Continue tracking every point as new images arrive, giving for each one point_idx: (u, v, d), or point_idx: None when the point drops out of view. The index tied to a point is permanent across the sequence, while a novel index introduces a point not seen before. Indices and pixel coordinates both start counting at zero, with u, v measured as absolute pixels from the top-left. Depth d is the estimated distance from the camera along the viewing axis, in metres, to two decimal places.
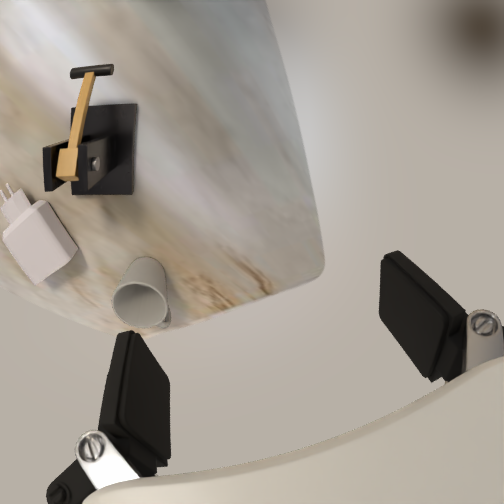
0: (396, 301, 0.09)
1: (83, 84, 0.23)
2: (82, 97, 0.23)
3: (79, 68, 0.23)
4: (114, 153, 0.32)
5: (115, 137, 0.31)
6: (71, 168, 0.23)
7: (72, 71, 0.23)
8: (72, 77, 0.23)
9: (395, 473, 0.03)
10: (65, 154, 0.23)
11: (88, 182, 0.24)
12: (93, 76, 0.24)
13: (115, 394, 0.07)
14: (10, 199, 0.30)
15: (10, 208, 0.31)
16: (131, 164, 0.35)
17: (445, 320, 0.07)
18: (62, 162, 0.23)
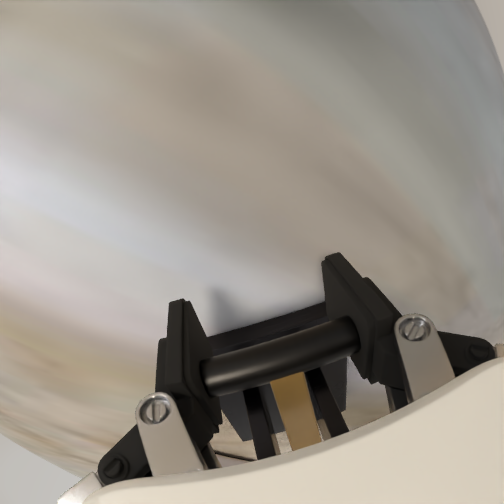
0: (335, 302, 0.10)
1: (289, 418, 0.09)
2: (306, 446, 0.09)
3: (236, 373, 0.08)
4: None
5: (325, 382, 0.16)
6: None
7: (213, 389, 0.08)
8: None
9: (395, 473, 0.03)
10: None
11: None
12: None
13: (178, 354, 0.08)
14: None
15: None
16: None
17: (371, 322, 0.08)
18: None
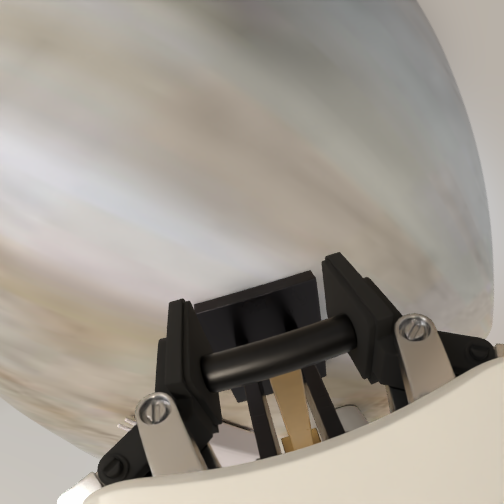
0: (335, 302, 0.10)
1: (283, 399, 0.10)
2: (295, 415, 0.11)
3: (238, 377, 0.09)
4: None
5: None
6: None
7: (216, 390, 0.09)
8: None
9: (395, 473, 0.03)
10: None
11: None
12: None
13: (178, 354, 0.08)
14: None
15: None
16: None
17: (371, 322, 0.08)
18: None
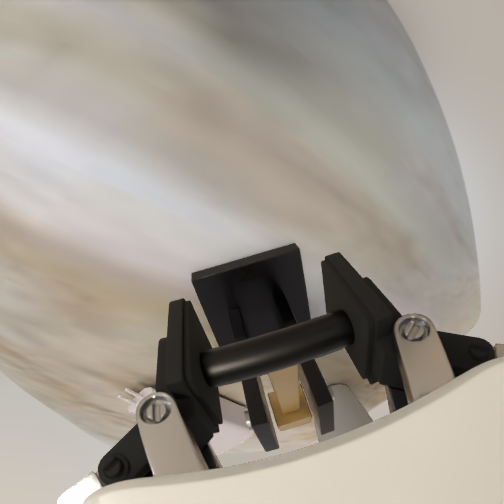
0: (335, 302, 0.10)
1: (278, 382, 0.11)
2: (287, 390, 0.12)
3: (239, 376, 0.09)
4: None
5: (289, 306, 0.24)
6: (304, 422, 0.17)
7: (217, 386, 0.09)
8: None
9: (395, 473, 0.03)
10: (289, 424, 0.16)
11: None
12: None
13: (178, 354, 0.08)
14: None
15: None
16: None
17: (371, 323, 0.08)
18: (287, 427, 0.17)
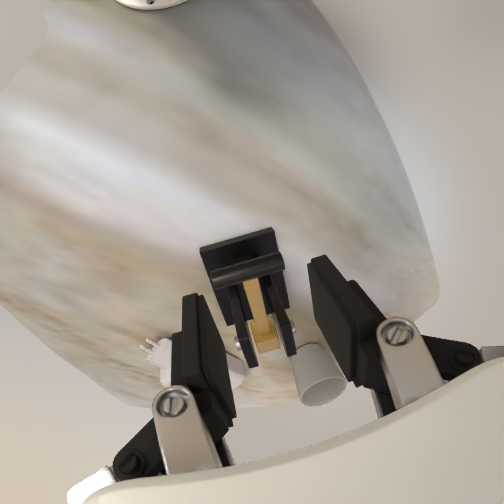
0: (321, 304, 0.10)
1: (249, 293, 0.22)
2: (256, 303, 0.23)
3: (228, 281, 0.20)
4: None
5: None
6: (275, 346, 0.29)
7: (218, 288, 0.20)
8: None
9: (395, 473, 0.03)
10: (264, 344, 0.27)
11: None
12: (257, 278, 0.21)
13: (195, 347, 0.08)
14: (160, 352, 0.37)
15: (162, 359, 0.38)
16: (284, 284, 0.39)
17: (353, 326, 0.08)
18: (263, 347, 0.28)
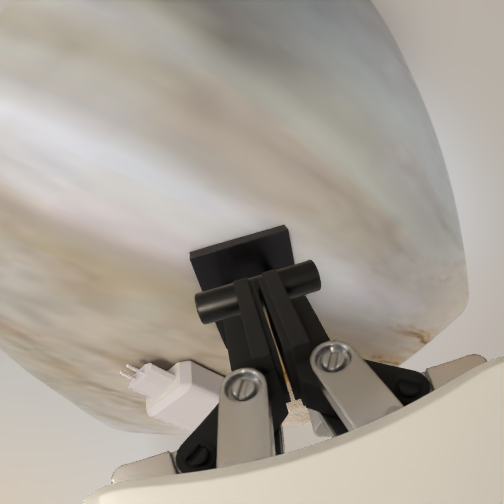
0: (270, 320, 0.10)
1: None
2: None
3: (226, 311, 0.11)
4: None
5: None
6: None
7: (208, 322, 0.12)
8: None
9: (395, 473, 0.03)
10: None
11: None
12: None
13: (259, 329, 0.08)
14: (144, 381, 0.29)
15: (147, 388, 0.30)
16: None
17: (287, 348, 0.08)
18: None
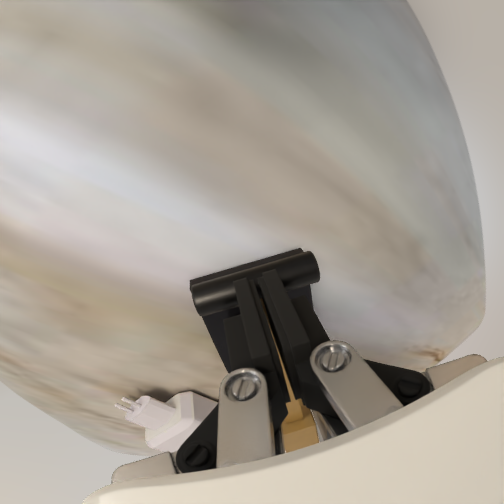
0: (270, 320, 0.10)
1: None
2: None
3: (221, 296, 0.11)
4: None
5: None
6: (311, 442, 0.15)
7: (202, 310, 0.11)
8: None
9: (395, 473, 0.03)
10: (293, 437, 0.15)
11: None
12: None
13: (259, 329, 0.08)
14: (141, 414, 0.25)
15: (146, 421, 0.26)
16: None
17: (287, 348, 0.08)
18: (292, 443, 0.15)
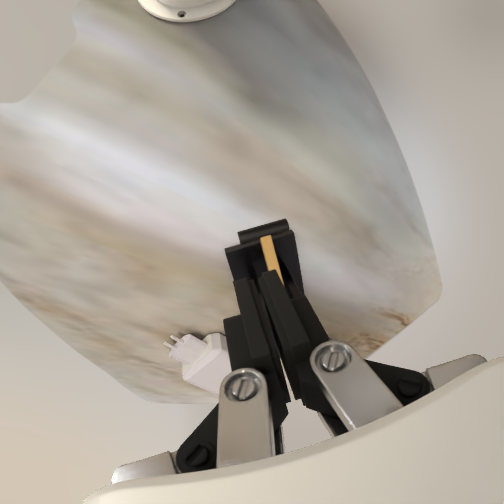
0: (270, 320, 0.10)
1: (266, 253, 0.29)
2: (273, 267, 0.30)
3: (249, 234, 0.29)
4: None
5: (287, 269, 0.38)
6: None
7: (242, 239, 0.29)
8: None
9: (395, 473, 0.03)
10: None
11: None
12: None
13: (259, 329, 0.08)
14: (183, 348, 0.40)
15: (185, 354, 0.41)
16: (301, 282, 0.41)
17: (287, 348, 0.08)
18: None
